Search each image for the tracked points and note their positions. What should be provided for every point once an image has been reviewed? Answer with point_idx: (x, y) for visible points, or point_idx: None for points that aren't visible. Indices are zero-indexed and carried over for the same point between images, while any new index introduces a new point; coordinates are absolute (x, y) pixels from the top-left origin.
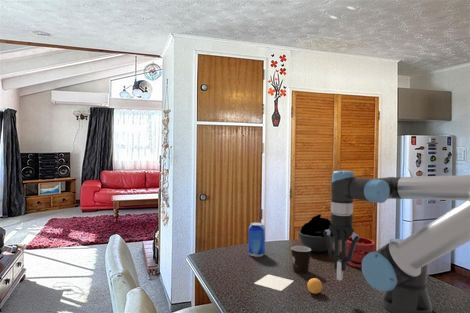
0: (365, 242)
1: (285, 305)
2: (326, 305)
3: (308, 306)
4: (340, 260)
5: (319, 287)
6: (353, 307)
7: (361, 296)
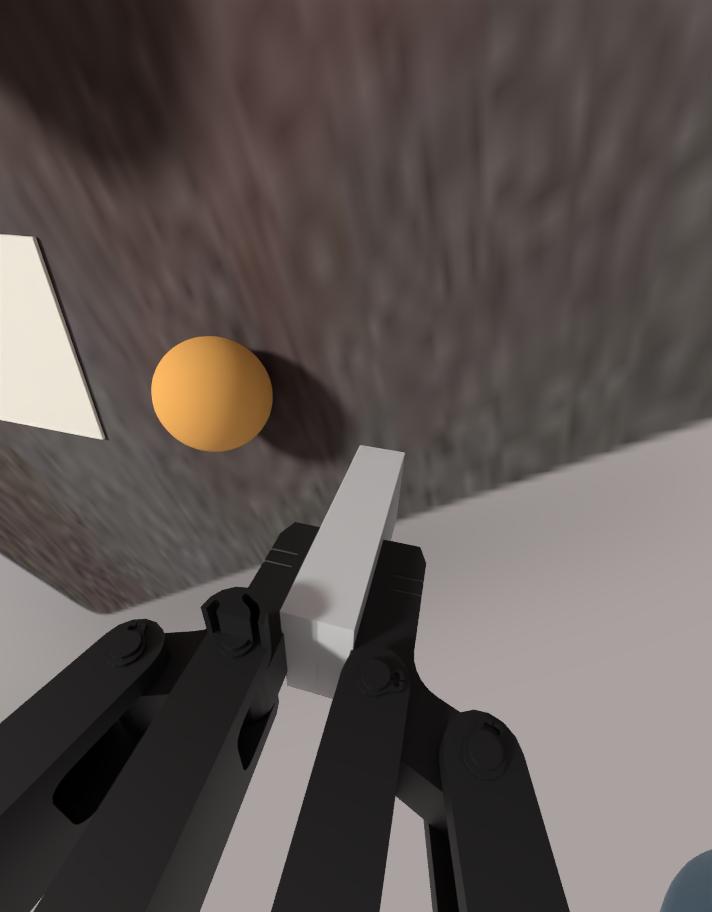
0: None
1: (210, 557)
2: None
3: None
4: (310, 642)
5: (257, 433)
6: (514, 471)
7: (594, 232)
